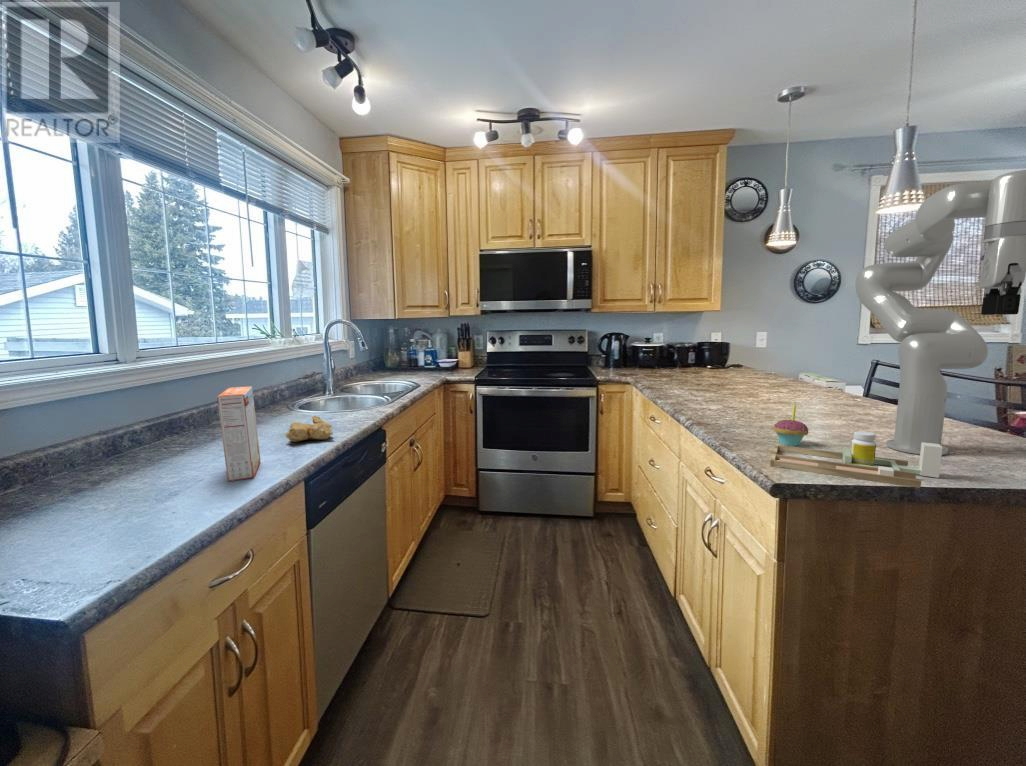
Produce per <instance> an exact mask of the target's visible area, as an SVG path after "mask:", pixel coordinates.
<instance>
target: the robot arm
mask: <svg viewBox="0 0 1026 766" xmlns="http://www.w3.org/2000/svg"><path fill="white" fill-rule="evenodd" d="M972 218H976V219H977V218H985V226H984V233H983V242H982V243H983V244H987V245H986V247H985V250H984V251H985V252H984V256H983V260H982V265H981V272H980V275H979V276H980V277H979V283H978V287H979V288H980V289H984V293H983V297H982V303H981V310H980V311H981V312H980V314H981V315H985V316H986V315H987V316H988V315H989V316H991V315H998V316H999V315H1018V314H1019V312H1020V311H1019V310H1020V306H1021V305H1020V303H1021V294H1022V286H1023V283H1025V280H1026V169H1022V170H1015V171H1010V172H1007V173H1003V174H1000V175H998V176H997V177H995V178H994V179H993V180H992V181H984V182H983V181H981V182H969V183H968V182H966V183H956V184H953V185H950V186H945V187H944V188H942V189H940V190H938V191H937V192H935V193H934V194H932V195H930V196H929V197H927V198H926V199H925V200H924V201H922V203H921V204H920V206H919V208H918V210H917V212H916V213H915V218H914V219H912V220H909V221H908V222H907V223H905V224H904V225H902V226H900V227H898V228H896V229H895V230H893V231H892V232H891V233H889V234H888V236H887V237H886V238H885V240H884V243H883V247H884V250H885V252H886V253H887V255H890V256H893V257H896V258H916V259H915V260H914V261H912V262H911V261H909V262H908V261H907V262H884V263H883V262H881V263H874V264H871V265H868V266H866V267H864V268H862V269H861V270H860V271H859V272H858V273H857V275H856V276H855V293H856V297H858V300H859V301H860V303H861V304H862V305H863V306H864V308H866V309H867V310H868V311H869V312H870V313H871V314H873V316H875V318H876V319H877V320H878V322H879V323H880V324H881V326H882V328H883V329H885V331H886V332H887V334H888V335H889V336H890V337H891V339H893V340H894V341H896V342H898V343H899V345H898V349H897V350H898V352H897V353H898V361H899V372H900V373H899V374H900V375H899V387H898V398H897V399H898V400H897V409H896V417H895V427H894V436H893V438H892V439H888V440H887V441H886V442H885V445H886V446H887V448H890V449H893V450H895V451H899V452H904V453H908V454H909V453H910V454H916V455H920V452H921V443H922V442H924V443H933V444H940V445H941V446H942V447H943V448H942V456H944V455H948V454H949V449H948V447H947V446H944V445H942V439H943V430H944V421H945V420H944V419H945V416H946V415H945V414H946V413H945V412H946V407H947V405H946V404H947V399H948V397H947V396H948V383H947V380H946V379H945V377H944V376H943V374H942V373H941V371H940V370H967V369H968V370H969V369H973V368H976V367H979V366H981V365H982V364H983V363H984V362H985V361H986V360H987V358H988V355H989V349H988V345H987V343H986V341H985V338H983V337H982V335H981V334H980V333H979V332H978V331H977V330H976V329H975V328H974V327H973V326H972V325H970V323H969V322H968V321H966V319H965V318H964V317H963V316H962V315H961V314H959V313H958V312H956V311H953V310H951V309H946V308H919V307H917V306H915V305H914V304H912V302H911V301H910V300H909V299H908V298H907V297H906V296H904V295H902V294H900V293H898V292H914V291H920V290H922V289H923V288H925V287H927V285H929V283H930V282H931V281H932V279H933V278H934V276H935V274H936V272H937V271H938V269H939V268H940V266H941V264H942V262H943V261H944V259H945V258H946V257H947V255H948V253H949V251H950V249H951V246H952V244H953V241H954V233H953V232H954V230H955V226H956V225H955V224H956V223H955V220H956V219H972Z"/></svg>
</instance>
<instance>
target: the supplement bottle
mask: <svg viewBox="0 0 1026 766" xmlns="http://www.w3.org/2000/svg"><path fill="white" fill-rule="evenodd" d="M875 439H876V433H873V432H870V431H862V430H861V431H860V430H859V431H854V433H853V439H852V440H851V443H850V444H851V445H850V452H851V456H852V460H851V463H854V464H862V465H870V466H875V464H874V462H875V457H876V450H877V442H876V441H875Z"/></svg>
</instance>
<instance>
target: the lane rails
mask: <svg viewBox="0 0 1026 766" xmlns="http://www.w3.org/2000/svg"><path fill="white" fill-rule="evenodd" d="M778 450H781V451H780V452H783V451H789V452H788V453H790V452H794V453H793V454H798V453H801V455H806V454H808V455H809V456H814V455H815V457H822V456H823V457H824V458H830V457H831V459H838V458H839V460H843V459H842V458H843V452H840V451H839V452H838V451H832V450H831V451H830V450H822V449H816V448H815V449H813V448H806V447H805V448H804V447H798V446H786V445H782V444H775V445H774V447H773V451H772V454H771V458H770V461H769V462H770V463H769V464H770V465H771V466H770V465H769V466H770V467H772V466H779V467H785V468H784V469H786V468H790V469H789V470H793V469H795V470H794V471H800V470H801V471H802V472H808V473H815V474H821V475H829V476H836V477H843V478H849V479H856V480H864V481H870V482H871V481H872V482H875V483H876V482H878V483H883V484H890V485H897V486H898V485H899V486H904V487H905V486H906V487H912V488H918V489H920V488H921V486H922V480H921V479H916V477H917V474H916V473H914V472H906V471H899V470H894V476H886V475H878V474H871V473H864V472H857V471H849V470H842V469H836V466H843V467H851V468H858V469H866V470H873V471H878V468H876V467H868V466H861V465H853V464H845V463H843V462H836V461H829V460H821V459H815V458H805V457H798V456H792V455H791V456H790V455H784V454H778V453H777V452H779V451H778ZM823 457H822V458H823ZM780 458H784V459H791V460H799V461H806V462H814V463H818V466H813V465H806V464H798V463H791V462H784V461H777V460H780ZM875 458H878V459H886V460H894V461H895V462H896V464H897V465H902V466H909V461H908V460H904V459H897V458H888V457H887V458H886V457H881V456H875ZM779 467H778V468H779Z"/></svg>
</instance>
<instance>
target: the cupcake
mask: <svg viewBox="0 0 1026 766" xmlns="http://www.w3.org/2000/svg"><path fill="white" fill-rule="evenodd" d="M796 410H797V405H796V403H794V405H792V414H791V419H782V420H780V421H778V422H776V423H775V424H774V425H773V431H774V433H776V435H777V437H778V440H779V443H780V445H782V444H784V445H783V446H786V445H789V446H790V447H798V446H800V444H801V442H802V440H803V438H804V436H806V435H807V436H808V434H809V427H808V425H806V424H805V423H803V422H801V421H799V420H795V417H796Z"/></svg>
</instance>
